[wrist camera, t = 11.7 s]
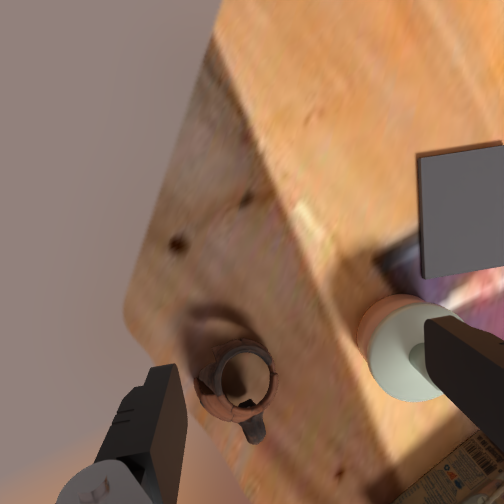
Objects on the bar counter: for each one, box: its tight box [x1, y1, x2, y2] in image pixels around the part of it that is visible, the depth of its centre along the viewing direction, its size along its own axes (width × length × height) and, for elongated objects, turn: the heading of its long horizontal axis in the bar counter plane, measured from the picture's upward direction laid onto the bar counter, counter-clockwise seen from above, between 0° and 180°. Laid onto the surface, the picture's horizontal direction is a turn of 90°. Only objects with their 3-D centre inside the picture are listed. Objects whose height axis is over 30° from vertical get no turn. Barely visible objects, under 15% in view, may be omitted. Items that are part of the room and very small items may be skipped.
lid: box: [367, 302, 463, 402], centre depth 35 cm, size 11×11×5 cm
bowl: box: [357, 294, 426, 363], centre depth 40 cm, size 10×10×5 cm
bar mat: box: [418, 145, 504, 279], centre depth 40 cm, size 14×10×1 cm
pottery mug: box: [194, 338, 278, 445], centre depth 40 cm, size 12×10×8 cm
